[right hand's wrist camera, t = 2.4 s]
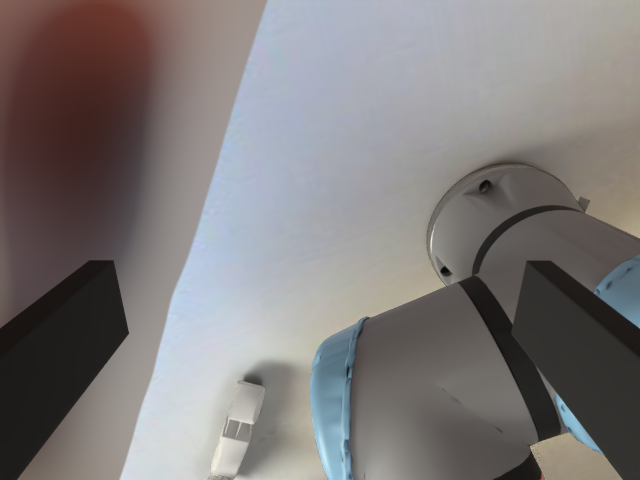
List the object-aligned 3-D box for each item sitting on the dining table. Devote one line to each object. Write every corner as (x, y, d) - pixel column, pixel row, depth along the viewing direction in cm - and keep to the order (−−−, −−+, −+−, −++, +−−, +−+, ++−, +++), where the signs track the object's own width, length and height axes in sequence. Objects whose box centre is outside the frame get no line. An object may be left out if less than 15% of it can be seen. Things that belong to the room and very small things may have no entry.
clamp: (230, 488, 56) (221, 537, 50) (205, 483, 56) (191, 531, 49) (269, 372, 51) (264, 409, 44) (241, 365, 51) (232, 401, 44)
